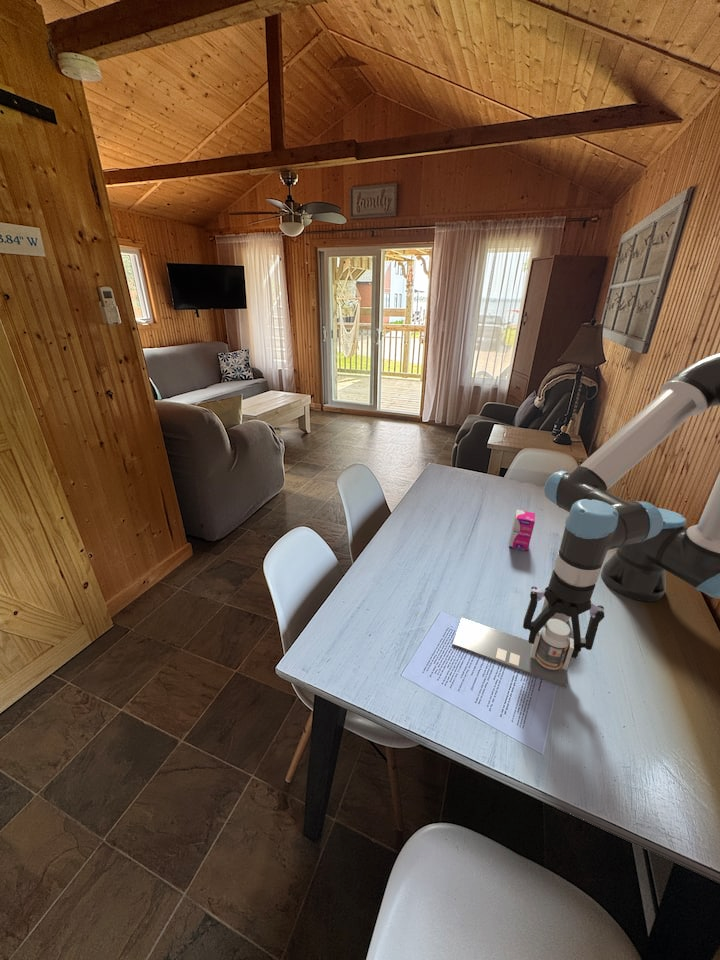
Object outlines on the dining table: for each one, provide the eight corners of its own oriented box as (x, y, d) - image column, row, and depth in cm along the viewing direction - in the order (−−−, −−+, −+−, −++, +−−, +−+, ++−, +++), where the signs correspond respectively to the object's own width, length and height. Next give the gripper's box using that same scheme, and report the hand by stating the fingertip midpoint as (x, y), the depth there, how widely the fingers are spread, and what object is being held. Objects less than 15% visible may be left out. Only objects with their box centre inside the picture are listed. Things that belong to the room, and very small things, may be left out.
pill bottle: (565, 673, 83) (577, 639, 79) (536, 668, 84) (546, 634, 80) (558, 651, 88) (569, 619, 84) (531, 647, 89) (541, 614, 85)
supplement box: (508, 547, 126) (515, 517, 121) (509, 538, 131) (515, 508, 126) (527, 551, 124) (535, 521, 119) (528, 542, 129) (535, 512, 124)
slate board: (566, 655, 89) (567, 653, 88) (566, 688, 81) (566, 685, 81) (461, 619, 98) (461, 617, 98) (452, 645, 91) (452, 643, 91)
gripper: (628, 578, 75) (596, 662, 85) (525, 552, 83) (506, 631, 93) (633, 603, 69) (597, 690, 79) (521, 572, 77) (501, 655, 87)
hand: (548, 658), depth 86 cm, fingers open, 6 cm apart
